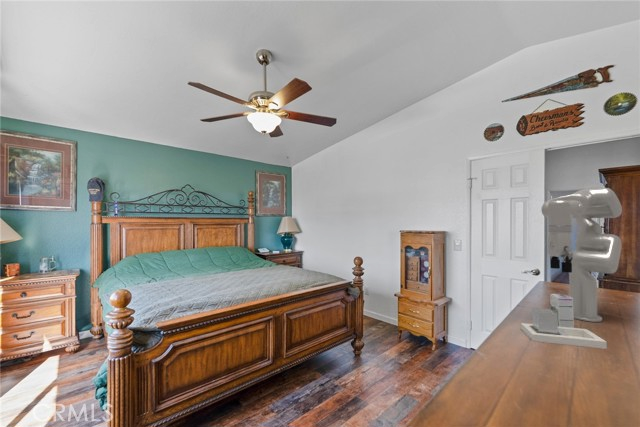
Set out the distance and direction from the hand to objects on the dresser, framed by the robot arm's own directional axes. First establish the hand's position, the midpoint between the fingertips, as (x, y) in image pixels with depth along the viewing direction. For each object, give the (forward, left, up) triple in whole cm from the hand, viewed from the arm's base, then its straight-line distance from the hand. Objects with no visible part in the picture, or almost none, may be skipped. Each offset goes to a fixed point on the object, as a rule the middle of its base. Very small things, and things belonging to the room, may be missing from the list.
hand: (560, 270), depth 120 cm
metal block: (+13, -11, -24) cm, 29 cm away
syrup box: (0, 0, -25) cm, 25 cm away
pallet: (+13, -6, -25) cm, 29 cm away
